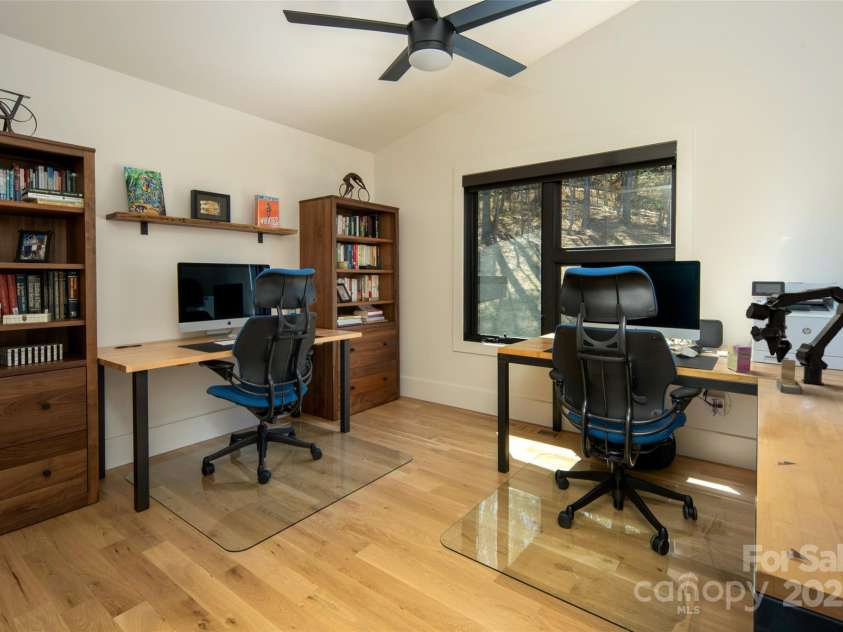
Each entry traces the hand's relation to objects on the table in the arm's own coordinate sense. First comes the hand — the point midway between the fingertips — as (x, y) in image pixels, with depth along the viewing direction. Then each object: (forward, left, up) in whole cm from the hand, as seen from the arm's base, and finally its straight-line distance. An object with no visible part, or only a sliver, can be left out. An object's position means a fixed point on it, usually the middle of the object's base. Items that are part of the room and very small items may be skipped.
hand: (775, 359), depth 184 cm
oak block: (+4, +4, -9) cm, 10 cm away
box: (-30, -10, -11) cm, 34 cm away
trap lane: (+7, +4, -11) cm, 13 cm away
